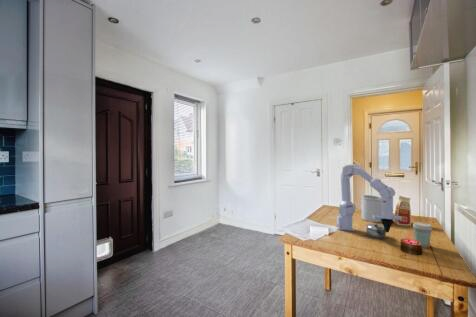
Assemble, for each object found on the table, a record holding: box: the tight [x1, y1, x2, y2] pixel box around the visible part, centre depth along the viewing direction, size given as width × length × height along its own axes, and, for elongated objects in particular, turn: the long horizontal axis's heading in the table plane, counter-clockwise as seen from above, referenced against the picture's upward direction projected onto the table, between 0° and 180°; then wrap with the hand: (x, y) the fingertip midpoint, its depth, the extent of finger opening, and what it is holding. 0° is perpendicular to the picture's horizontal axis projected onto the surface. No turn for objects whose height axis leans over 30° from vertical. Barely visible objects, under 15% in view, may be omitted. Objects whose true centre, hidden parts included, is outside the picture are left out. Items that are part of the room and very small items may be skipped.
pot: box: [366, 227, 387, 240], centre depth 142 cm, size 17×10×5 cm, turn 170°
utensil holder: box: [360, 194, 382, 223], centre depth 175 cm, size 15×15×18 cm
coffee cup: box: [412, 221, 433, 249], centre depth 128 cm, size 8×8×12 cm
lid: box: [365, 223, 387, 234], centre depth 140 cm, size 16×11×2 cm
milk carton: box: [394, 195, 412, 227], centre depth 166 cm, size 9×9×20 cm
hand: (386, 231), depth 134 cm, fingers closed
